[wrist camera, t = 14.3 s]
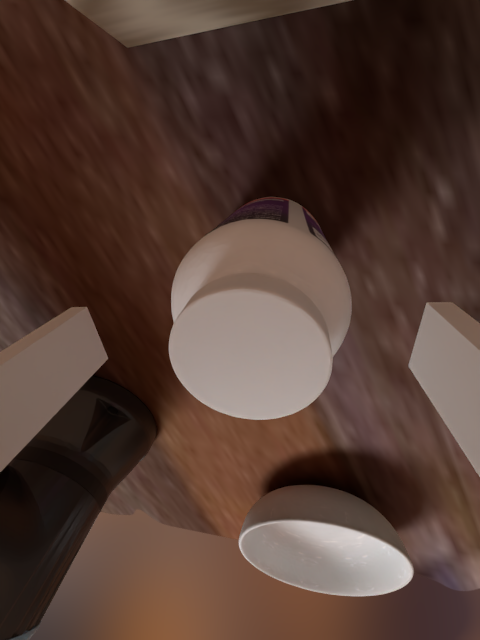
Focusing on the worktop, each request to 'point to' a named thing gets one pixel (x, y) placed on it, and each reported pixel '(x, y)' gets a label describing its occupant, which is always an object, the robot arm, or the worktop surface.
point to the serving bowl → (325, 542)
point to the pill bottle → (259, 312)
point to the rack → (181, 15)
